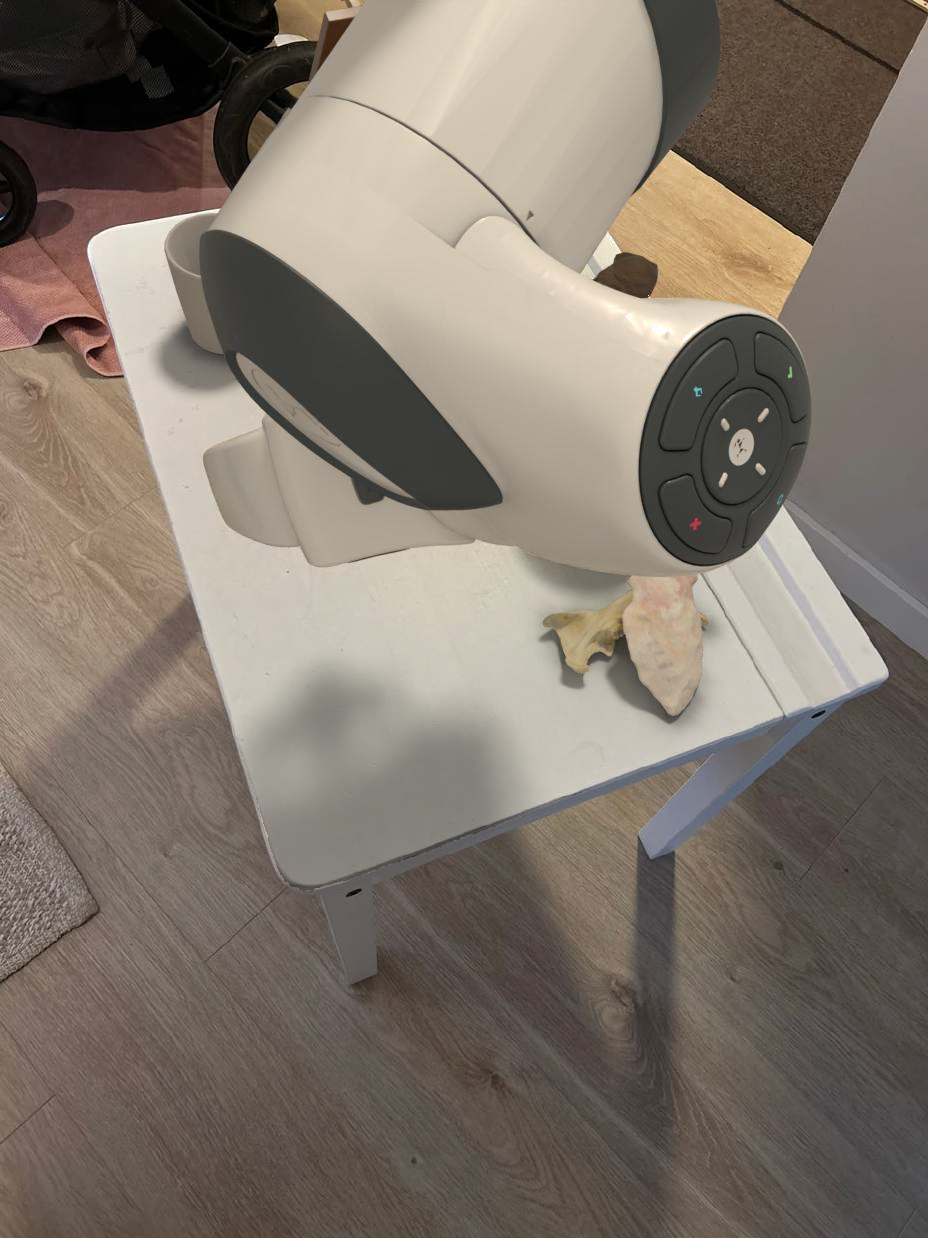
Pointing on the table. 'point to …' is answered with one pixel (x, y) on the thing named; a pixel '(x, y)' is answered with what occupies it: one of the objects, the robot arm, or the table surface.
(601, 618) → the bone
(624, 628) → the artifact
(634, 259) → the figurine
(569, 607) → the table surface
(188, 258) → the cup
